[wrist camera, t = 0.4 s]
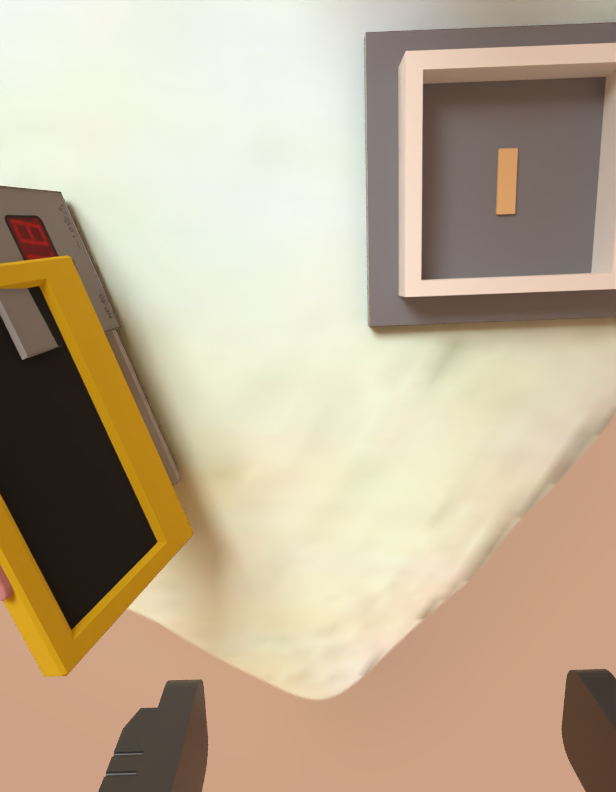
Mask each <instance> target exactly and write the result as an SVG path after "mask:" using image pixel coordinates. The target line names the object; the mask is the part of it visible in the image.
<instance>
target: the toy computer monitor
mask: <svg viewBox="0 0 616 792" xmlns="http://www.w3.org/2000/svg"><path fill="white" fill-rule="evenodd" d="M10 288H28V290H29V292H30V294H31V296H32V298H33V300H34V302H35V304H36V305H37V307H38V309H39V311H40V313H41V315H42V317H43V319H44V321H45V322H46V324H47V326H48V328H49V330H50V332H51V334H52V336H53V337H54V339H55V341H56V343H57V345H58V348H56V347H55V349H53V348H52V350H50V349H49V351H47V350H46V352H44V351H43V352H44V353H41V352H40V353H41V354H38V353H37V354H38V355H35V354H34V355H35V356H32V355H30V356H32V357H29V358H27V359H24V360H22V359H21V356H20V354H19V352H18V350H17V348H16V346H15V344H14V342H13V340H12V338H11V336H10V334H9V332H8V330H7V328H6V325H5V323H4V321H3V319H2V317H1V315H0V600H1V601H3V602H4V604H5V606H6V607H7V609H8V611H9V613H10V615H11V617H12V618H13V620H14V622H15V624H16V626H17V628H18V629H19V631H20V633H21V635H22V636H23V638H24V640H25V642H26V644H27V646H28V648H29V649H30V651H31V653H32V655H33V657H34V659H35V660H36V662H37V664H38V666H39V668H40V670H41V671H42V673H43V675H44V676H67V675H68V674H69V672H70V671H71V670H72V669H73V668H74V667H75V666H76V665H77V663H78V662H79V661H80V660H81V659H82V658H83V657H84V656H85V654H86V653H87V652H88V651H89V650H90V649H91V648H92V647H93V646H94V645H95V643H96V642H97V641H98V640H99V639H100V638H101V636H103V634H104V633H105V632H106V631H107V630H108V629H109V628H110V627H111V626H112V624H113V623H114V622H115V621H116V620H117V619H118V618H119V617H120V615H121V614H122V613H123V612H124V611H125V610H126V609H127V608H128V607H129V605H130V604H131V603H132V602H133V601H134V600H135V599H136V598H137V597H138V595H139V594H140V593H141V592H142V591H143V590H144V589H145V588H146V587H147V585H148V584H149V583H150V582H151V581H152V580H153V579H154V578H155V576H156V575H157V574H158V573H159V572H160V571H161V570H162V569H163V568H164V566H165V565H166V564H167V563H168V562H169V561H170V560H171V559H172V557H173V556H174V555H175V554H176V553H177V552H178V551H179V550H180V549H181V547H182V546H183V545H184V544H185V543H186V542H187V541H188V540H189V539H190V537H191V536H192V535H193V531H192V528H191V526H190V524H189V522H188V519H187V517H186V515H185V513H184V510H183V508H182V506H181V504H180V501H179V499H178V497H177V495H176V492H175V490H174V488H173V486H172V484H177V482H178V481H179V479H180V474H179V472H178V470H177V468H176V465H175V463H174V461H173V459H172V456H171V454H170V452H169V449H168V447H167V445H166V443H165V440H164V438H163V436H162V433H161V431H160V429H159V427H158V424H157V422H156V420H155V418H154V415H153V413H152V411H151V408H150V406H149V404H148V402H147V399H146V397H145V395H144V392H143V390H142V388H141V386H140V383H139V381H138V379H137V377H136V374H135V372H134V370H133V367H132V365H131V363H130V361H129V358H128V356H127V354H126V351H125V349H124V347H123V345H122V342H121V340H120V338H119V336H118V333H117V331H116V330H113V331H111V332H109V333H107V334H105V333H104V331H103V328H102V326H101V324H100V322H99V319H98V317H97V315H96V313H95V310H94V308H93V306H92V304H91V301H90V299H89V297H88V295H87V292H86V290H85V288H84V286H83V283H82V281H81V279H80V277H79V274H78V272H77V270H76V268H75V265H74V263H73V261H72V259H71V257H70V256H68V255H66V256H58V257H49V258H41V259H33V260H25V261H16V262H8V263H0V289H10ZM114 329H115V328H114ZM111 330H112V329H111ZM108 331H109V330H108ZM105 332H106V331H105Z"/></svg>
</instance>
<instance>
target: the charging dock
mask: <svg viewBox="0 0 616 792" xmlns="http://www.w3.org/2000/svg"><path fill="white" fill-rule="evenodd" d="M364 70H365V144H366V219H367V294H368V325H369V326H389V325H415V324H441V323H467V322H493V321H519V320H545V319H571V318H597V317H616V23H591V24H565V25H540V26H515V27H489V28H464V29H438V30H413V31H387V32H366V34H365V38H364Z"/></svg>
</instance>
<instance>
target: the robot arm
mask: <svg viewBox="0 0 616 792" xmlns="http://www.w3.org/2000/svg"><path fill="white" fill-rule="evenodd" d="M562 738H563V743H564V747H565V751H566V754H567V756H568V759H569V761H570V763H571V765H572V767H573V769H574V771H575V773H576V774H577V776H578V778H579V780H580V782H581V784H582V786H583V787H584V789H585V791H586V792H616V679H615V677H614V676H613V675H612V674H611V673H610V672H609V671H608V670H606V669H590V670H570V671H569V673H568V674H567V679H566V689H565V699H564V709H563V720H562ZM207 755H208V733H207V722H206V710H205V697H204V687H203V681H202V680H171V681H167V683H166V685H165V688H164V691H163V694H162V697H161V700H160V703H159V706H158V708H141V709H140V710H139V711H138V712H137V713H136V714H135V716H134V717H133V718H132V719H131V720H130V721H129V722H128V724H127V725H126V726H125V727H124V728H123V730H122V733H121V735H120V738H119V741H118V743H117V746H116V748H115V751H114V756H113V757H112V758H111V761H110V763H109V766H108V769H107V771H106V777H104V779H103V781H102V784H101V787H100V789H99V792H202V787H203V782H204V777H205V772H206V765H207Z"/></svg>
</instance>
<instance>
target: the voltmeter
mask: <svg viewBox="0 0 616 792" xmlns="http://www.w3.org/2000/svg"><path fill="white" fill-rule="evenodd" d="M66 255H68V256H70V257H71V259H72V261H73V263H74V265H75V268H76V270H77V272H78V274H79V277H80V279H81V281H82V283H83V286H84V288H85V290H86V292H87V295H88V297H89V299H90V301H91V304H92V306H93V308H94V310H95V313H96V315H97V317H98V319H99V322H100V324H101V326H102V328H103V331H104V333H105V334H107V333H109V332H111V331H113V330H117V329H118V328H120V327H121V326H120V324H119V322H118V319H117V317H116V315H115V313H114V310H113V308H112V306H111V304H110V302H109V299H108V297H107V295H106V293H105V290H104V288H103V286H102V284H101V281H100V279H99V277H98V275H97V272H96V270H95V268H94V266H93V263H92V261H91V259H90V257H89V254H88V252H87V250H86V248H85V245H84V243H83V241H82V239H81V236H80V234H79V232H78V230H77V227H76V225H75V223H74V221H73V218H72V216H71V214H70V212H69V209H68V207H67V205H66V203H65V200H64V198H63V196H62V194H61V192H57V191H47V190H37V189H27V188H17V187H7V186H0V263H8V262H16V261H25V260H33V259H41V258H49V257H58V256H66ZM0 315H1V317H2V319H3V321H4V323H5V325H6V328H7V330H8V332H9V334H10V336H11V338H12V340H13V342H14V344H15V346H16V348H17V350H18V352H19V354H20V356H21V359H22V360H24V359H27V358H29V357H32V356H35V355H38V354H41V353H44V352H46V350H47V351H49V349H50V350H52V348H53V349H55V347H56V348H58V345H57V343H56V341H55V339H54V337H53V336H52V334H51V332H50V330H49V328H48V326H47V324H46V322H45V321H44V319H43V317H42V315H41V313H40V311H39V309H38V307H37V305H36V304H35V302H34V300H33V298H32V296H31V294H30V292H29V290H28V288H10V289H0ZM114 328H115V329H114ZM111 329H112V330H111ZM108 330H109V331H108ZM105 331H106V332H105ZM43 351H44V352H43ZM40 352H41V353H40ZM37 353H38V354H37ZM34 354H35V355H34ZM30 355H32V356H30Z"/></svg>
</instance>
